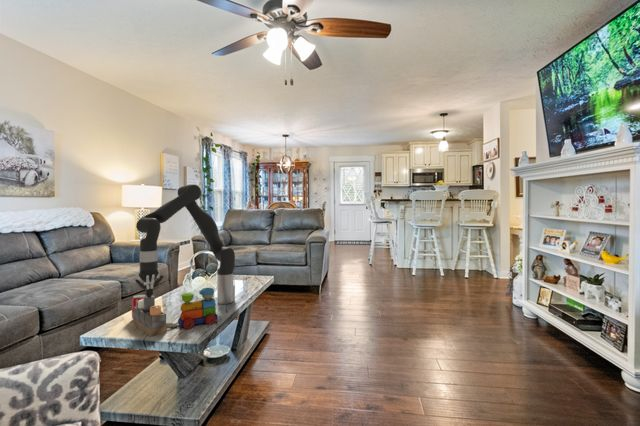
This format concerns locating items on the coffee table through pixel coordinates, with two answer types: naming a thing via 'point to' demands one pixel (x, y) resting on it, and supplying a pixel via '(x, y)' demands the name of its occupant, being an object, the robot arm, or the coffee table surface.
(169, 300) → the coffee table surface
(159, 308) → the plunger
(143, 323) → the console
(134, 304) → the soda can
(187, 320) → the toy train
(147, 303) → the grey upright block
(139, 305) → the plunger
